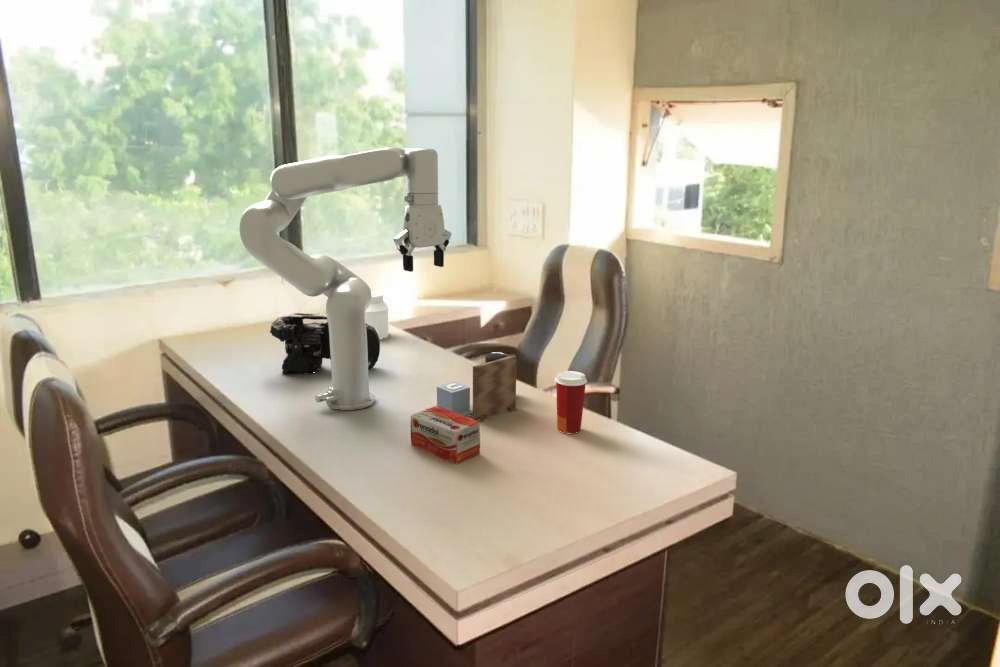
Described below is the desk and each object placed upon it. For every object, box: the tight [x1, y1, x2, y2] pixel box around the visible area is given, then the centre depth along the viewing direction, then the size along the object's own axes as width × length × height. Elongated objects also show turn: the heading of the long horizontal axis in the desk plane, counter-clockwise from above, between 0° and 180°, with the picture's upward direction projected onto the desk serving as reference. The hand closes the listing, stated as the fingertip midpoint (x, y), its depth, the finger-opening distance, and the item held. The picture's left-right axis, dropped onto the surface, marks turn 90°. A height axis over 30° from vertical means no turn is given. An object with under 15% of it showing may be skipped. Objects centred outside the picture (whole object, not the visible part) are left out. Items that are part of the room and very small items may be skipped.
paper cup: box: [554, 370, 588, 434], centre depth 185 cm, size 8×8×14 cm
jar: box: [365, 290, 390, 339], centre depth 263 cm, size 12×10×15 cm
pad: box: [425, 404, 473, 417], centre depth 198 cm, size 10×10×1 cm
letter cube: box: [436, 381, 471, 413], centre depth 197 cm, size 6×6×6 cm
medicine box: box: [410, 405, 481, 465], centre depth 174 cm, size 15×8×8 cm, turn 48°
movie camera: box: [269, 312, 381, 375], centre depth 226 cm, size 31×18×18 cm, turn 95°
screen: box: [471, 354, 518, 422], centre depth 195 cm, size 14×4×14 cm, turn 134°
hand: (423, 268), depth 193 cm, fingers open, 9 cm apart
